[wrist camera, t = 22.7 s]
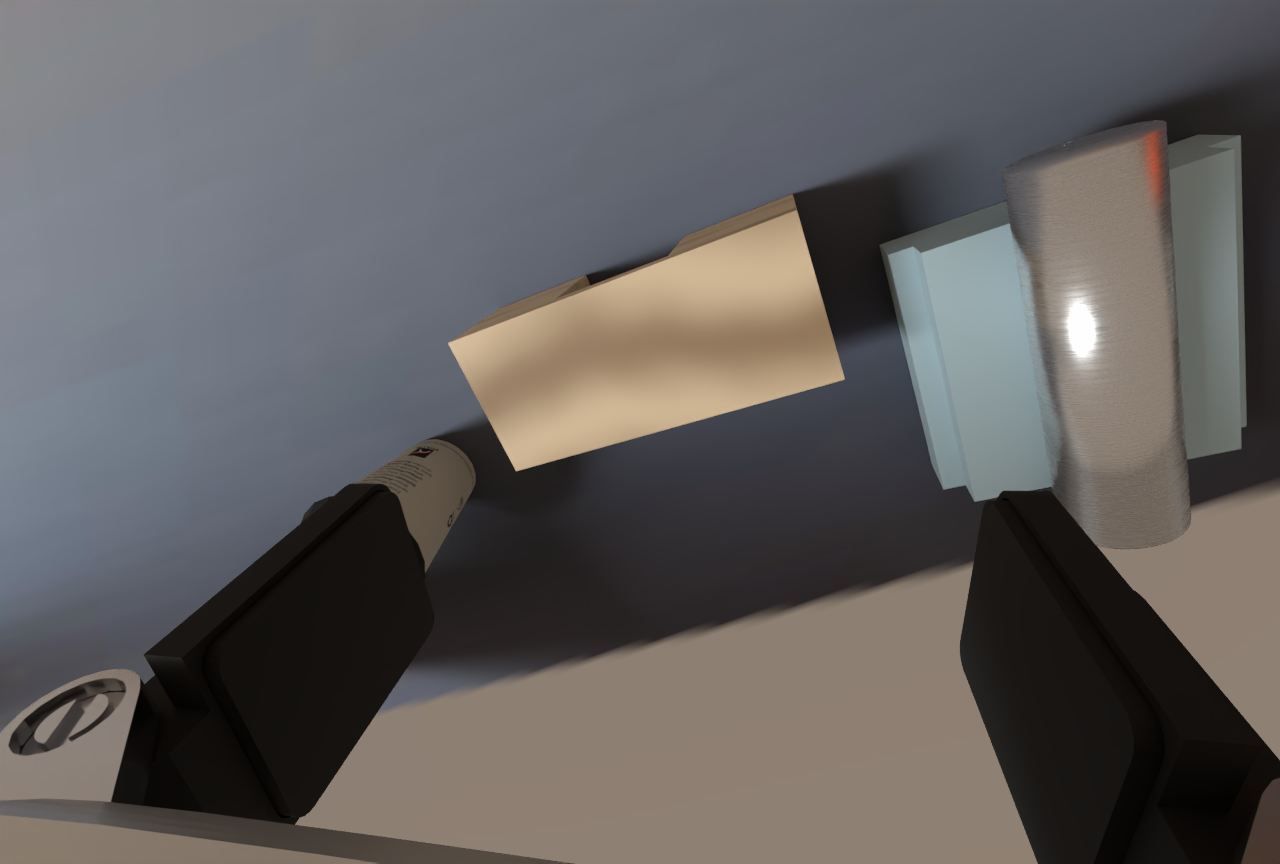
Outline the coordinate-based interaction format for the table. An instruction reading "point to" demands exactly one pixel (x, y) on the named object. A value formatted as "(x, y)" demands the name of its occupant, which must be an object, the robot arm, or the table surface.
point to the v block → (998, 342)
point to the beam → (655, 342)
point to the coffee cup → (425, 492)
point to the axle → (1105, 329)
